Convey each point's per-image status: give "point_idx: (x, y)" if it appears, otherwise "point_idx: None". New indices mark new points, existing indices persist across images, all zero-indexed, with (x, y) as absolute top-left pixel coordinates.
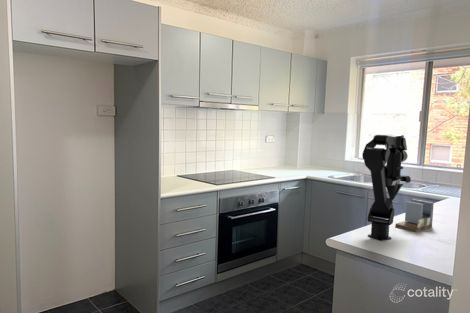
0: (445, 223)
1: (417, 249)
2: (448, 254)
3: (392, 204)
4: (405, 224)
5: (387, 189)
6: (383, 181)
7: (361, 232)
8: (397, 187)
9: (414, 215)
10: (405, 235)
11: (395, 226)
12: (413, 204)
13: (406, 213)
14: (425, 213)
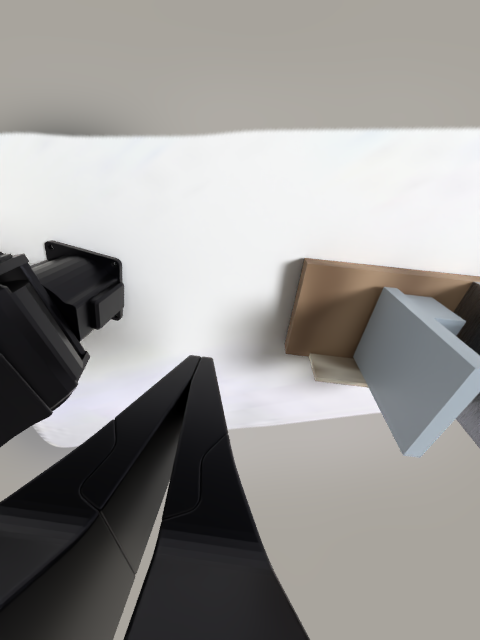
0: None
1: (114, 393)
2: None
3: (19, 431)
4: (326, 304)
5: (50, 474)
6: None
7: (61, 181)
8: (108, 635)
9: (381, 357)
10: (211, 333)
11: (304, 259)
12: (426, 405)
13: (405, 315)
14: None
